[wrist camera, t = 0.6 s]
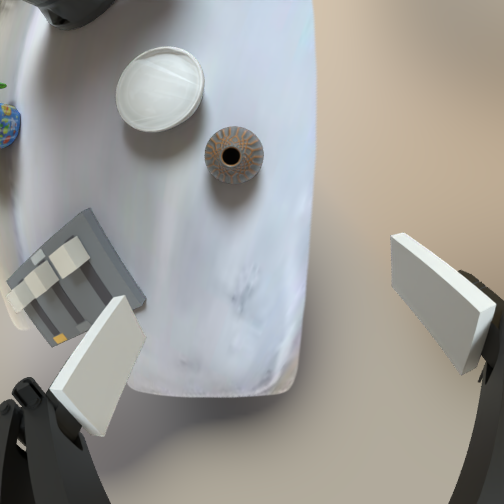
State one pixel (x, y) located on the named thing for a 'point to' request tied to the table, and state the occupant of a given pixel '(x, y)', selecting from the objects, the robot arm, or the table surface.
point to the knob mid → (41, 279)
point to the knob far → (20, 296)
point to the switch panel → (78, 283)
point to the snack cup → (8, 123)
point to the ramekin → (160, 89)
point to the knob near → (69, 257)
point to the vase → (234, 155)
